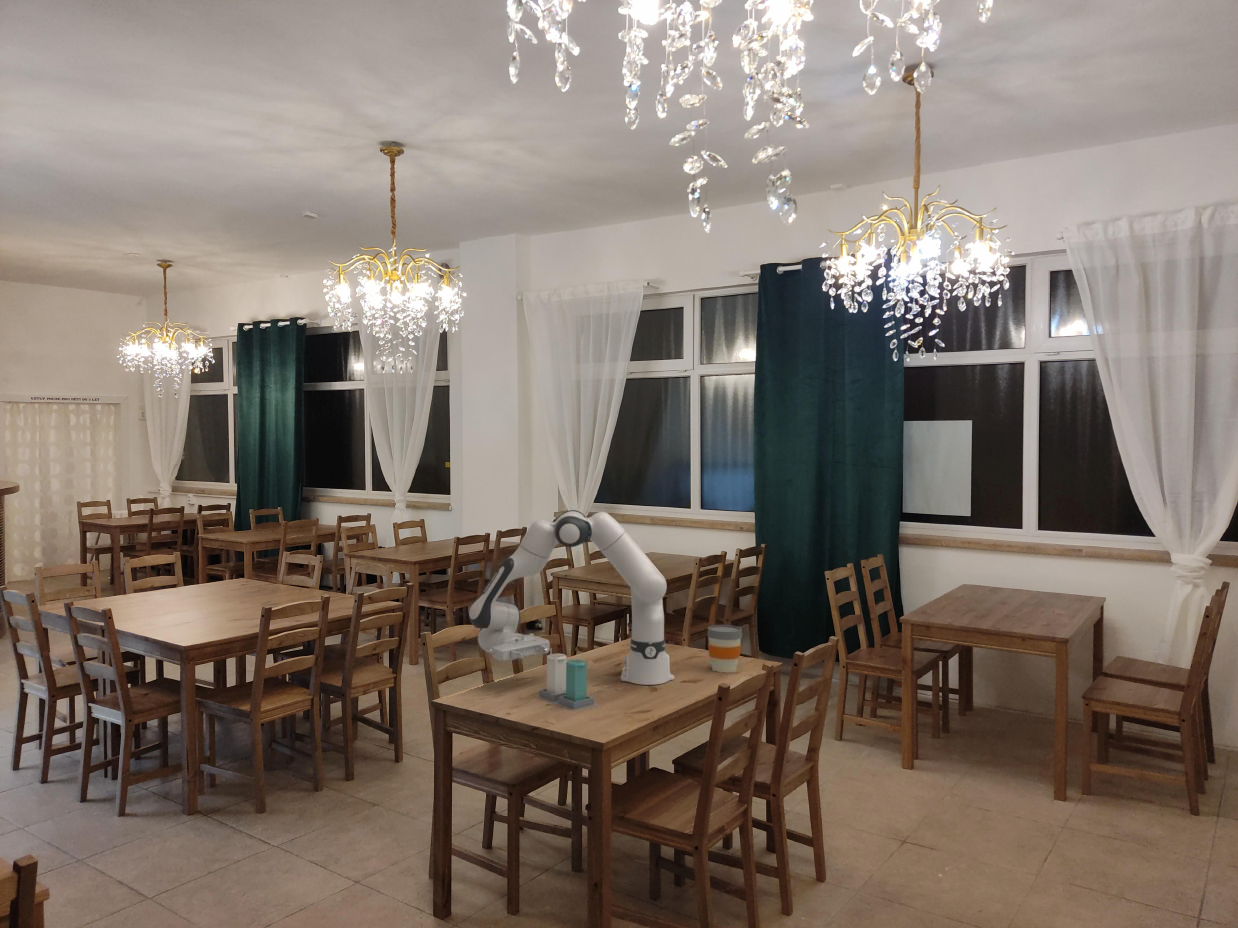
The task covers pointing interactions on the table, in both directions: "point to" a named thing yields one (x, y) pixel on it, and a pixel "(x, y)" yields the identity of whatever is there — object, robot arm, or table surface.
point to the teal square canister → (576, 680)
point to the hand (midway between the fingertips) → (535, 653)
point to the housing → (566, 700)
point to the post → (556, 673)
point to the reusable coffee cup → (724, 647)
